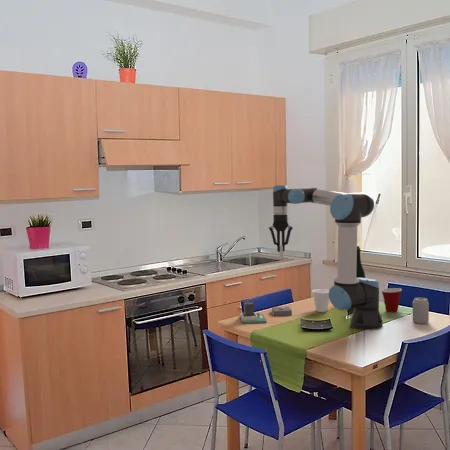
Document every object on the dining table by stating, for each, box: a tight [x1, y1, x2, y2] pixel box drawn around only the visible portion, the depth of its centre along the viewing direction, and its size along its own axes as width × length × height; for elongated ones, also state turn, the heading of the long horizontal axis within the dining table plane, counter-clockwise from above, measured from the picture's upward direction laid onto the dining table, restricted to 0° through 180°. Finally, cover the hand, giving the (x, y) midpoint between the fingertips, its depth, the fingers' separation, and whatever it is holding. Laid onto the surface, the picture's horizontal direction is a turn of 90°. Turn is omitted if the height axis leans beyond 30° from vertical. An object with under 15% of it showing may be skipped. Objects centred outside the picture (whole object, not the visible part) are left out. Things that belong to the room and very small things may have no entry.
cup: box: [311, 288, 330, 313], centre depth 293 cm, size 10×10×11 cm
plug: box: [243, 301, 255, 317], centre depth 278 cm, size 5×4×8 cm
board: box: [239, 311, 267, 325], centre depth 279 cm, size 14×12×3 cm
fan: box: [271, 305, 293, 317], centre depth 290 cm, size 9×9×3 cm
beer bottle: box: [356, 245, 367, 278], centre depth 307 cm, size 10×10×33 cm
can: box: [412, 297, 430, 325], centre depth 266 cm, size 8×8×12 cm
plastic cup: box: [380, 287, 403, 313], centre depth 289 cm, size 11×11×12 cm
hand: (281, 257), depth 293 cm, fingers closed
